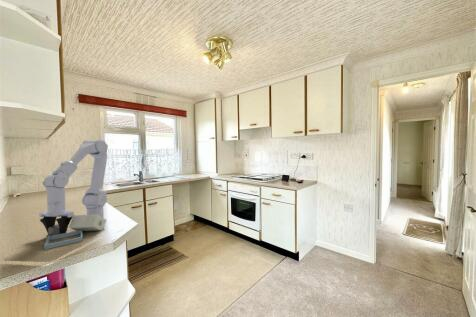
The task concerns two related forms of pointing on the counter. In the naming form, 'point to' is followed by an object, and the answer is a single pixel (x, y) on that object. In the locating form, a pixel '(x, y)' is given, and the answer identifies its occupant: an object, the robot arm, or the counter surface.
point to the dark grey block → (53, 231)
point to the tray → (64, 240)
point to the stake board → (67, 230)
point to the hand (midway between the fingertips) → (57, 233)
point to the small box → (87, 222)
